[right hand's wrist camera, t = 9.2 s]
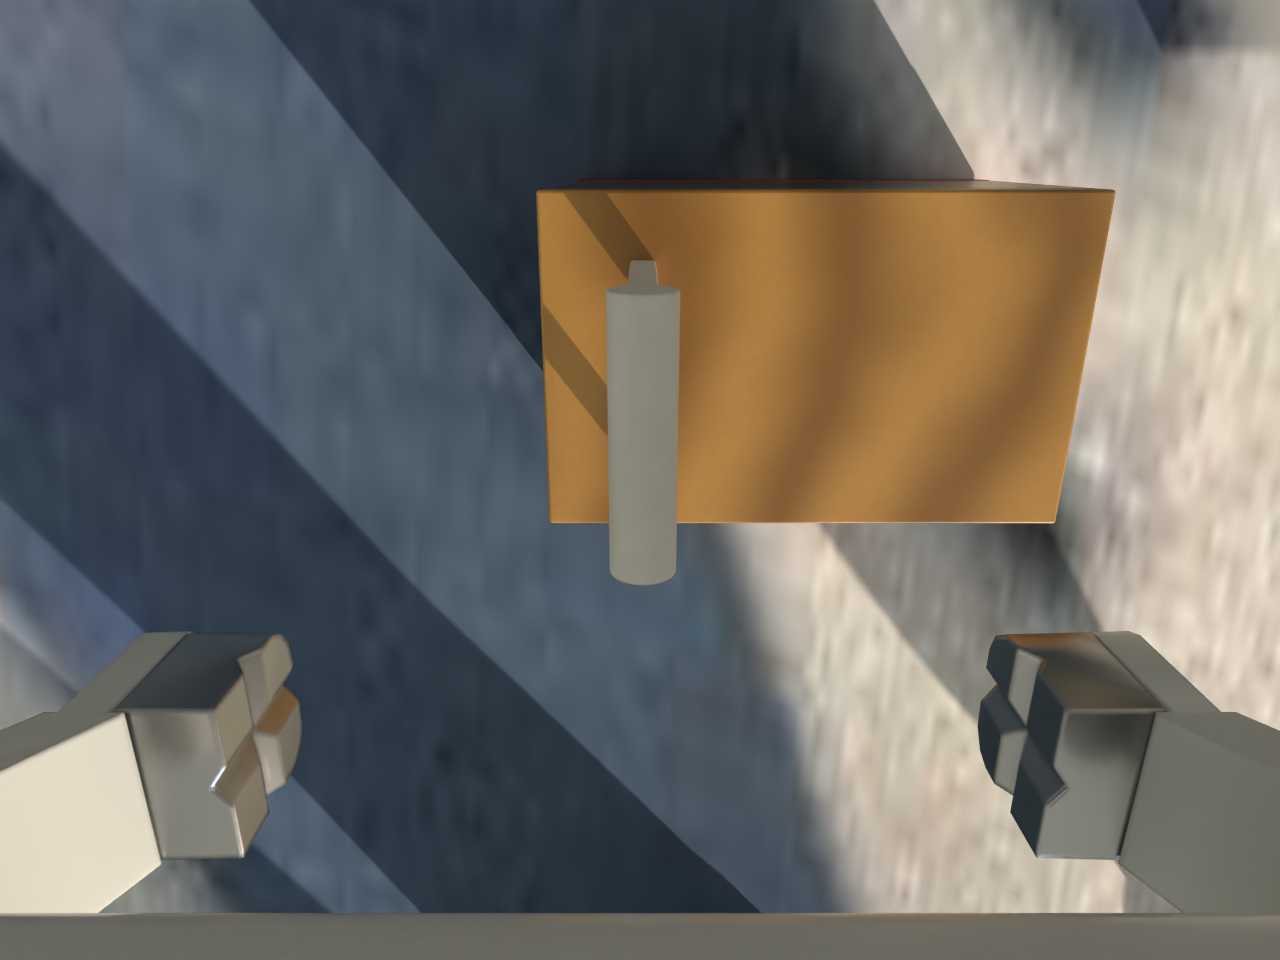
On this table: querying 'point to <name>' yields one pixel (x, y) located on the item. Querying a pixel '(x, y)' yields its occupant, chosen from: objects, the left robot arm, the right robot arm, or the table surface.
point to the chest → (807, 184)
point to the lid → (810, 356)
